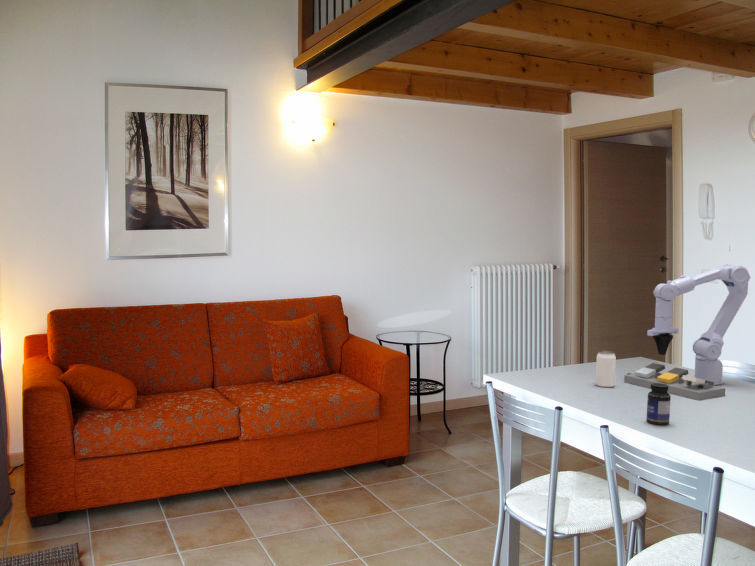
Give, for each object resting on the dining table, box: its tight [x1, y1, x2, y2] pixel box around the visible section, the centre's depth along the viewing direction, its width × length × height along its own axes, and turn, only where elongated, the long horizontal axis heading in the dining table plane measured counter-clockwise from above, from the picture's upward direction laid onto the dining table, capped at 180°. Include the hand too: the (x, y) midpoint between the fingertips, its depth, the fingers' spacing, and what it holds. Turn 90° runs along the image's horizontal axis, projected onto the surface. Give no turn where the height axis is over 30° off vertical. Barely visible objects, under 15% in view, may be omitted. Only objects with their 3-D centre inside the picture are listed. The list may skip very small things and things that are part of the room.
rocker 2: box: [657, 367, 689, 383], centre depth 240 cm, size 10×5×1 cm, turn 119°
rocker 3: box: [682, 375, 715, 386], centre depth 232 cm, size 10×5×1 cm, turn 121°
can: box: [595, 350, 617, 389], centre depth 243 cm, size 6×6×12 cm
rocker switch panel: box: [623, 372, 726, 401], centre depth 242 cm, size 14×35×4 cm, turn 30°
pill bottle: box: [646, 383, 672, 426], centre depth 197 cm, size 6×6×11 cm
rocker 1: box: [634, 362, 666, 378], centre depth 248 cm, size 10×5×1 cm, turn 119°
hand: (662, 354), depth 248 cm, fingers closed
